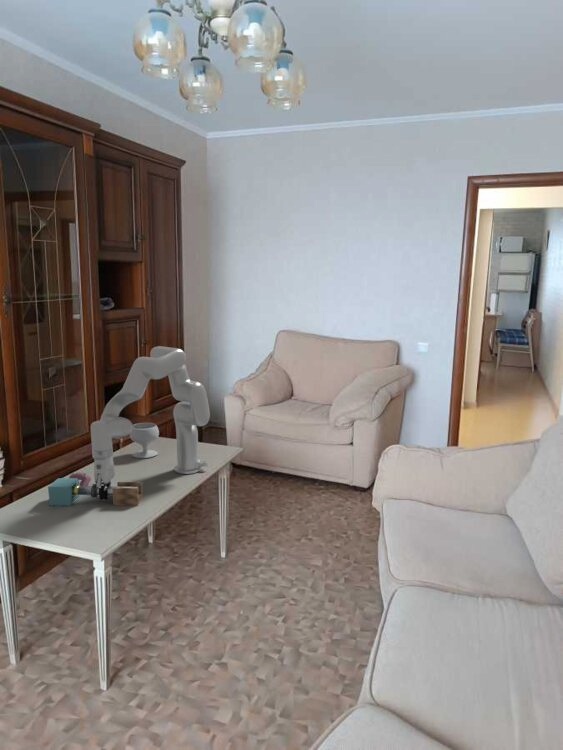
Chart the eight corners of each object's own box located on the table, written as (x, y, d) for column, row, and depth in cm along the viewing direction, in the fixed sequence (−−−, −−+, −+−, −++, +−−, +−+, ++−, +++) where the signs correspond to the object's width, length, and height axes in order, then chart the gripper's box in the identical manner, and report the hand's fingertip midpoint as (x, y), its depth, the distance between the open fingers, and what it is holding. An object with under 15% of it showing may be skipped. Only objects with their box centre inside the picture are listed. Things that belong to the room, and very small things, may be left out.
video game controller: (89, 491, 227) (93, 474, 229) (83, 490, 223) (87, 473, 225) (70, 488, 230) (74, 471, 232) (63, 487, 226) (67, 470, 228)
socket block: (79, 496, 217) (78, 478, 216) (70, 505, 209) (68, 487, 207) (59, 496, 218) (58, 478, 216) (49, 505, 209) (48, 486, 207)
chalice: (165, 452, 271) (164, 423, 269) (148, 461, 259) (146, 430, 256) (142, 449, 277) (141, 420, 274) (124, 457, 264) (123, 427, 262)
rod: (140, 494, 215) (139, 481, 214) (136, 500, 210) (135, 487, 209) (76, 494, 215) (75, 481, 214) (70, 499, 210) (69, 486, 209)
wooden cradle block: (142, 498, 216) (142, 482, 215) (138, 505, 209) (137, 488, 208) (119, 497, 216) (118, 481, 215) (113, 505, 209) (112, 488, 208)
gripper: (105, 459, 201) (107, 506, 204) (118, 446, 217) (121, 489, 221) (84, 459, 201) (88, 506, 204) (100, 445, 217) (103, 489, 221)
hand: (105, 496), depth 213 cm, fingers closed on rod, 3 cm apart
